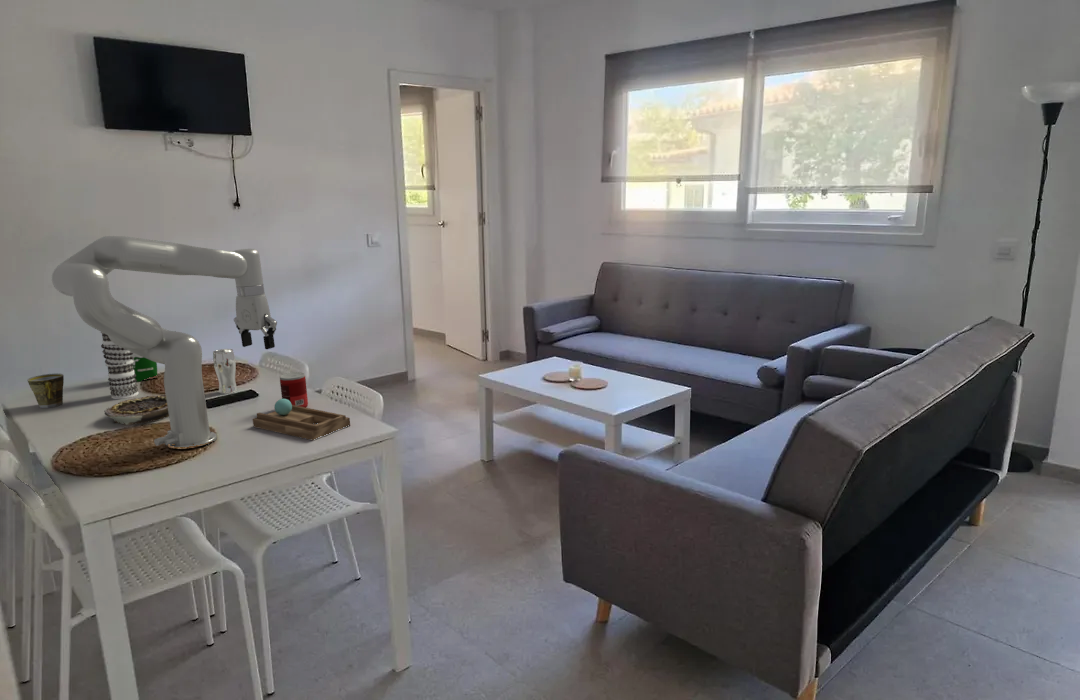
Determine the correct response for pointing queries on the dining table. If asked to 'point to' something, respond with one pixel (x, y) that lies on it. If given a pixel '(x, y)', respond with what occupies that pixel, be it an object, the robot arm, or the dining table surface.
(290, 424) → the track board
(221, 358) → the beer glass
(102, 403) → the dining table surface
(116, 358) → the decorative candle
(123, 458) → the dining table surface
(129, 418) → the pie
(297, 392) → the canned food
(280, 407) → the ball
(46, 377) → the ceramic cup
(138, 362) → the milk carton
